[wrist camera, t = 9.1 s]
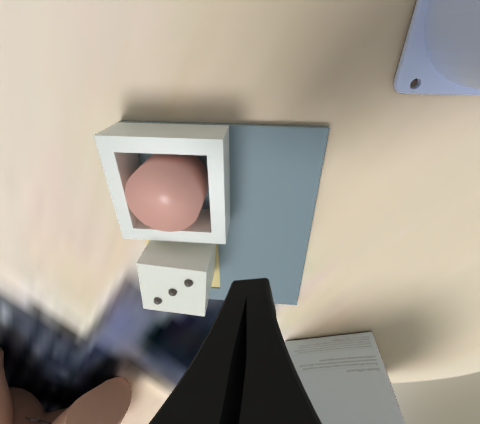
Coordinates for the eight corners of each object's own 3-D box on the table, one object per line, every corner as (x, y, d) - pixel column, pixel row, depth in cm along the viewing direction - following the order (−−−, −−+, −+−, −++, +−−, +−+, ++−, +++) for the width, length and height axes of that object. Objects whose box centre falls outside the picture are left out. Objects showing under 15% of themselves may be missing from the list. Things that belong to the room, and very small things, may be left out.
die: (217, 230, 21) (205, 275, 17) (214, 271, 23) (204, 319, 19) (159, 223, 21) (134, 266, 17) (163, 265, 23) (141, 311, 19)
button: (207, 148, 17) (197, 167, 14) (211, 208, 19) (203, 233, 17) (138, 145, 17) (116, 163, 14) (150, 205, 19) (133, 229, 17)
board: (327, 126, 16) (329, 128, 16) (296, 301, 25) (296, 304, 25) (120, 120, 17) (117, 122, 17) (159, 292, 26) (157, 295, 25)
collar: (229, 125, 16) (222, 139, 14) (230, 220, 20) (225, 244, 18) (117, 122, 17) (93, 135, 14) (139, 215, 20) (122, 238, 18)
